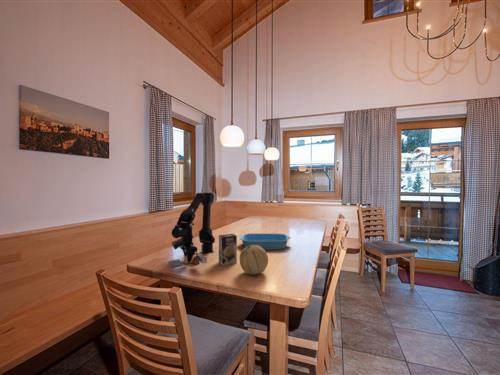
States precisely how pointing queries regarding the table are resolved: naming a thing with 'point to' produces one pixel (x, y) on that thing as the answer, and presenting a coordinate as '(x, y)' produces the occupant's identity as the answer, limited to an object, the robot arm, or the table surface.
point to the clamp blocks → (196, 259)
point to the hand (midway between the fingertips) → (187, 260)
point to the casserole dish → (265, 240)
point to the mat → (176, 263)
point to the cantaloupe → (253, 259)
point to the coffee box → (227, 249)
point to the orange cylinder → (187, 260)
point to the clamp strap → (201, 258)
